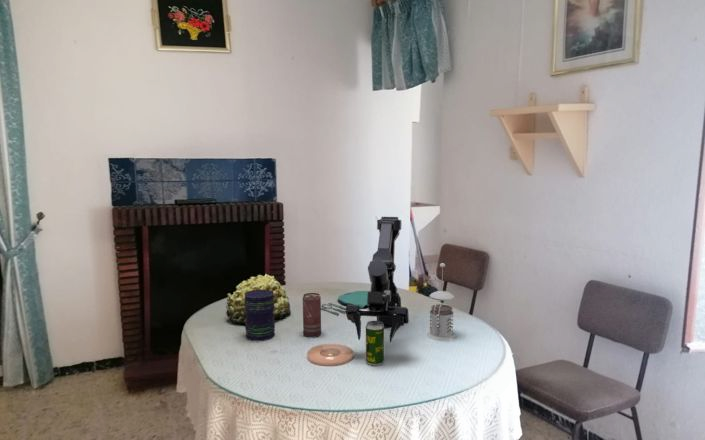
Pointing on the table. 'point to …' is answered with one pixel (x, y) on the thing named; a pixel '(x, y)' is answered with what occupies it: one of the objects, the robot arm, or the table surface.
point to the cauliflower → (256, 283)
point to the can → (311, 314)
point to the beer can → (375, 343)
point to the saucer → (330, 354)
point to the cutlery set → (349, 301)
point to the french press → (441, 316)
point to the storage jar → (259, 315)
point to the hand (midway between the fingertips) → (374, 340)
